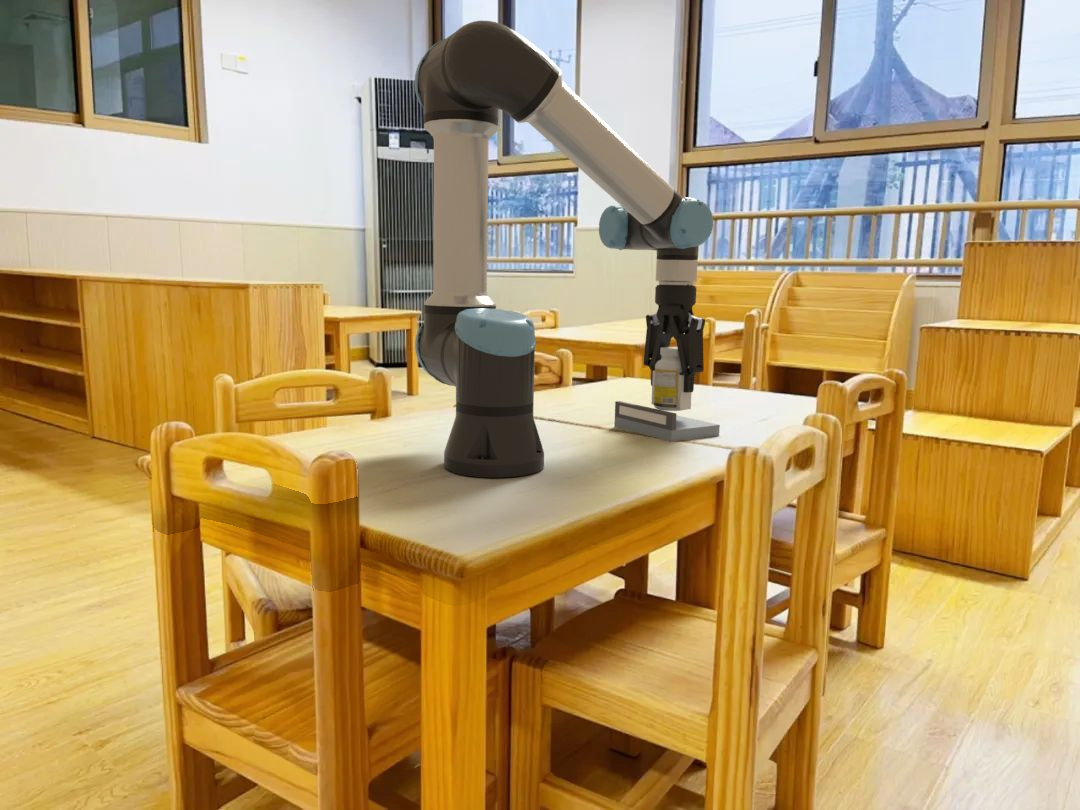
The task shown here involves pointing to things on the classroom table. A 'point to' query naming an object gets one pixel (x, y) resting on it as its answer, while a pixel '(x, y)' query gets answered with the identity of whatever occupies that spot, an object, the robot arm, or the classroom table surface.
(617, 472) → the classroom table surface
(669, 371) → the pill bottle
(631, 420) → the grey piece
